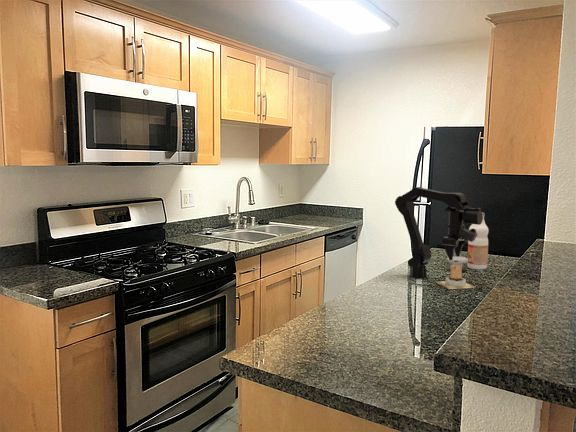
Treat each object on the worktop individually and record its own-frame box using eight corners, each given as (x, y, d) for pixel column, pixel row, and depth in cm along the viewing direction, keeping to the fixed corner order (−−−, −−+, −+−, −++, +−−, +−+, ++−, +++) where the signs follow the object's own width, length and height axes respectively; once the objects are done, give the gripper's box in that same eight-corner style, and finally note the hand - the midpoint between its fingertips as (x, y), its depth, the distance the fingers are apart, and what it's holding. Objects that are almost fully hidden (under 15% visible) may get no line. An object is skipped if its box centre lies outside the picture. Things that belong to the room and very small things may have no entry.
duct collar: (451, 287, 194) (451, 281, 193) (442, 282, 201) (443, 277, 201) (468, 286, 195) (468, 280, 194) (459, 281, 202) (459, 276, 202)
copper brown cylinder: (459, 286, 195) (459, 267, 194) (448, 284, 197) (449, 266, 196) (462, 284, 198) (463, 265, 197) (451, 282, 201) (452, 264, 200)
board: (449, 291, 191) (449, 289, 191) (435, 283, 203) (435, 281, 203) (476, 290, 193) (476, 287, 193) (461, 282, 205) (461, 280, 205)
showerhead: (469, 255, 229) (466, 258, 220) (468, 269, 230) (466, 273, 221) (449, 253, 234) (446, 257, 225) (448, 267, 234) (445, 271, 226)
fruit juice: (481, 270, 227) (483, 214, 224) (463, 267, 234) (465, 212, 231) (490, 267, 233) (493, 212, 230) (473, 264, 240) (475, 211, 237)
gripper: (468, 226, 185) (467, 264, 187) (481, 221, 200) (480, 257, 201) (441, 224, 192) (439, 261, 193) (455, 219, 206) (454, 254, 208)
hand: (454, 258), depth 199 cm, fingers open, 9 cm apart
